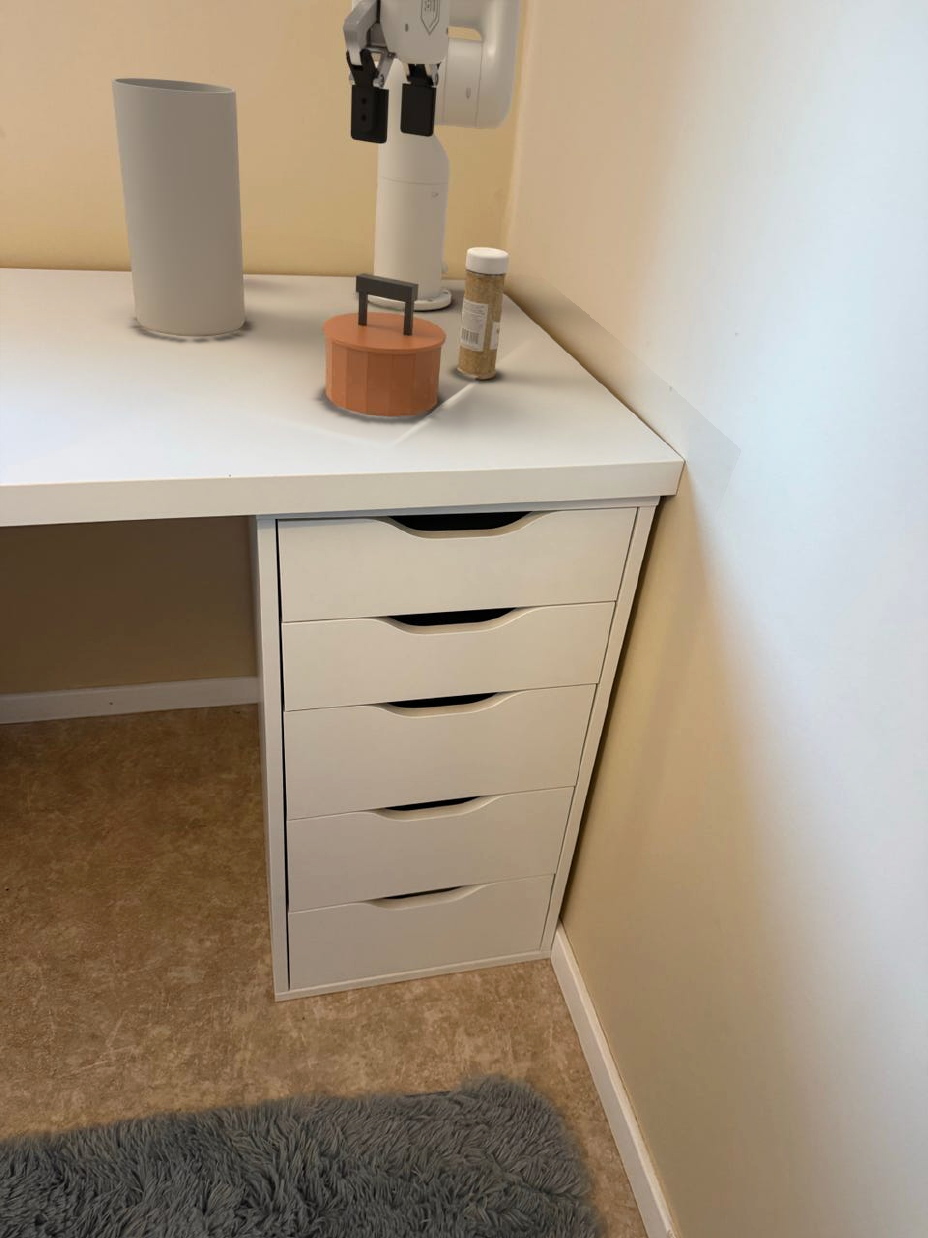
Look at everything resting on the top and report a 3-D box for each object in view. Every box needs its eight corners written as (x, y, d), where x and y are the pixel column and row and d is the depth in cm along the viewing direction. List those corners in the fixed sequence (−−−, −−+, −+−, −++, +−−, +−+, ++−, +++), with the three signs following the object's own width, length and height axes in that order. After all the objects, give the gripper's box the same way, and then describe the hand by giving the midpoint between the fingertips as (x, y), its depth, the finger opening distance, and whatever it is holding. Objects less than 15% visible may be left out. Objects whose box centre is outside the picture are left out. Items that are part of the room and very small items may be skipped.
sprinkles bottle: (503, 378, 103) (518, 254, 95) (470, 382, 101) (483, 256, 93) (480, 365, 106) (493, 244, 98) (448, 369, 104) (458, 246, 96)
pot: (358, 374, 100) (360, 311, 96) (453, 396, 96) (459, 332, 93) (305, 404, 90) (305, 336, 87) (408, 430, 87) (412, 361, 84)
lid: (358, 315, 97) (360, 258, 93) (463, 338, 93) (468, 279, 90) (299, 343, 87) (299, 280, 84) (414, 369, 84) (418, 304, 80)
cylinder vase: (114, 327, 105) (85, 78, 91) (176, 304, 115) (158, 76, 101) (209, 347, 102) (193, 94, 88) (264, 321, 112) (257, 90, 98)
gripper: (400, -123, 63) (388, 151, 72) (488, -89, 76) (468, 137, 86) (306, -130, 65) (307, 138, 74) (408, -95, 78) (397, 127, 88)
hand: (393, 137), depth 80 cm, fingers open, 9 cm apart
